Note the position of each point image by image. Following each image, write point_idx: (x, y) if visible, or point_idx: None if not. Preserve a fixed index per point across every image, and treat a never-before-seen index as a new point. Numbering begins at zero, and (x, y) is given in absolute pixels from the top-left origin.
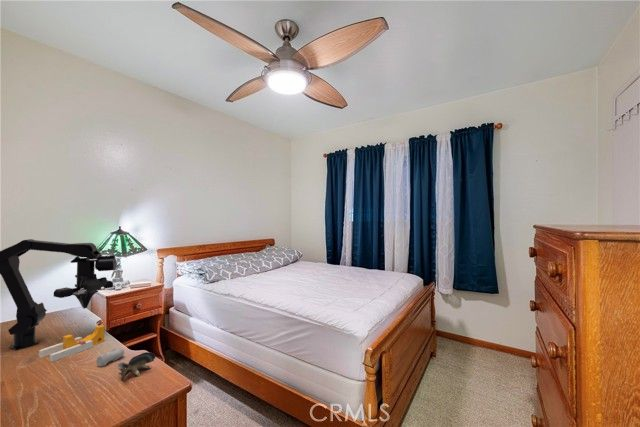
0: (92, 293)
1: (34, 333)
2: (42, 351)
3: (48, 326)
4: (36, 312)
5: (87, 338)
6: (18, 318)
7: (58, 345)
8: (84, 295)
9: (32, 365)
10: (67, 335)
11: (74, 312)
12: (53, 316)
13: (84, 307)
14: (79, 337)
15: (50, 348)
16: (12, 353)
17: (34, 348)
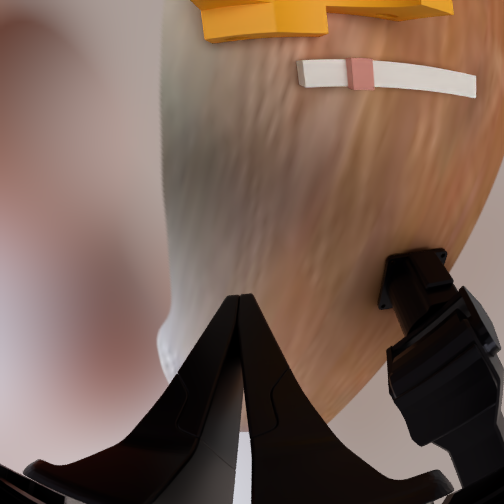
0: (121, 478)
1: (412, 298)
2: (470, 75)
3: None
4: (483, 367)
5: (290, 3)
6: (497, 357)
7: (420, 66)
8: (298, 483)
9: (485, 33)
10: (434, 4)
11: None
12: (247, 419)
13: (253, 300)
14: (312, 75)
15: (447, 70)
16: (460, 231)
17: (421, 213)
